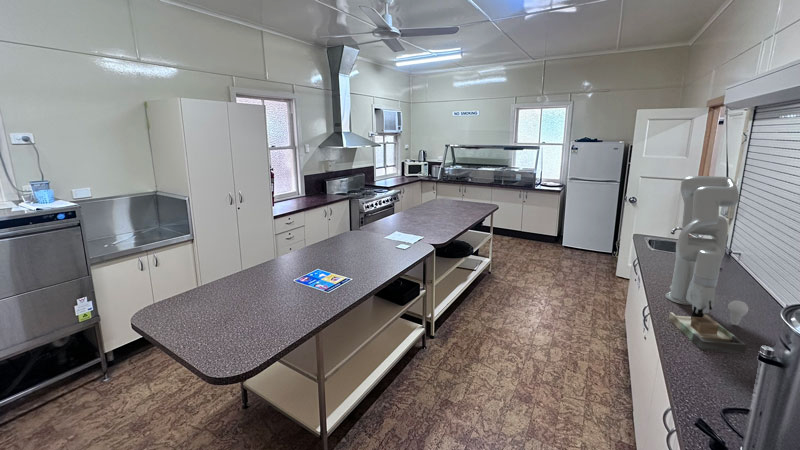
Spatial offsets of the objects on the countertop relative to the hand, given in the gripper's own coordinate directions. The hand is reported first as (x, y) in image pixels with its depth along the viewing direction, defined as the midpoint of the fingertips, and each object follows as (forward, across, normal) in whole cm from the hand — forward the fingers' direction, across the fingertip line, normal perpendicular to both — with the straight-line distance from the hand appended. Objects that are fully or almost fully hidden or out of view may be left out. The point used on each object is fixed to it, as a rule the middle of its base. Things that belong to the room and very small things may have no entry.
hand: (696, 320), depth 145 cm
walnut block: (+1, +5, 0) cm, 5 cm away
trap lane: (+3, +6, 0) cm, 7 cm away
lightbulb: (+4, -5, +17) cm, 18 cm away
